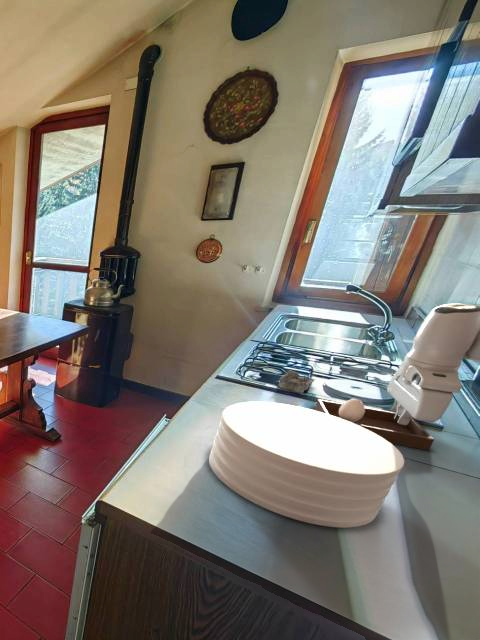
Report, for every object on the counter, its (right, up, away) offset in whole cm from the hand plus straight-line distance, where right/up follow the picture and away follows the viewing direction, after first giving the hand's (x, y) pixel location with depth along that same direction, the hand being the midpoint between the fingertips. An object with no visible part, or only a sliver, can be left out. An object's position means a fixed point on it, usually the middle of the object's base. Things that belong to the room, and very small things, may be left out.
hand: (400, 422), depth 99 cm
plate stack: (-44, -11, -17) cm, 48 cm away
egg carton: (-3, +9, +28) cm, 30 cm away
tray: (-5, -2, +4) cm, 6 cm away
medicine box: (+15, +2, +12) cm, 20 cm away
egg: (-8, -1, +5) cm, 10 cm away
